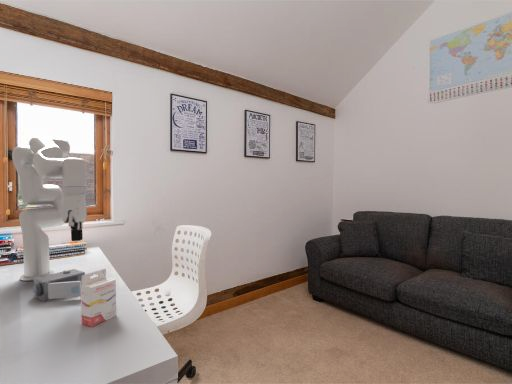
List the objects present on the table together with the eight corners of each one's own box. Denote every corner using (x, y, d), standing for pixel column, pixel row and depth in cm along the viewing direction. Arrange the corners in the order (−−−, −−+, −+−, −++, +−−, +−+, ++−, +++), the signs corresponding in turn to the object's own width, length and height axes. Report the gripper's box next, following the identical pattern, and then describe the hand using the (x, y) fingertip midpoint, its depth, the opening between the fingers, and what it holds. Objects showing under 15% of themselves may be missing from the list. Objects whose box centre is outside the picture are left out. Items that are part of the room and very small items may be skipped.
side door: (46, 298, 105) (45, 282, 105) (81, 295, 107) (81, 279, 107) (43, 300, 103) (43, 284, 103) (79, 297, 105) (79, 281, 105)
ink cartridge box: (92, 327, 85) (90, 277, 84) (81, 324, 87) (79, 275, 86) (117, 315, 92) (116, 269, 92) (106, 312, 95) (105, 267, 94)
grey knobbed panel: (29, 298, 108) (28, 277, 108) (74, 285, 121) (73, 267, 121) (39, 303, 103) (39, 281, 103) (85, 289, 116) (84, 270, 116)
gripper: (72, 191, 115) (74, 237, 116) (54, 192, 100) (56, 245, 101) (93, 190, 117) (94, 236, 117) (78, 191, 102) (80, 243, 102)
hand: (77, 240), depth 109 cm, fingers closed
